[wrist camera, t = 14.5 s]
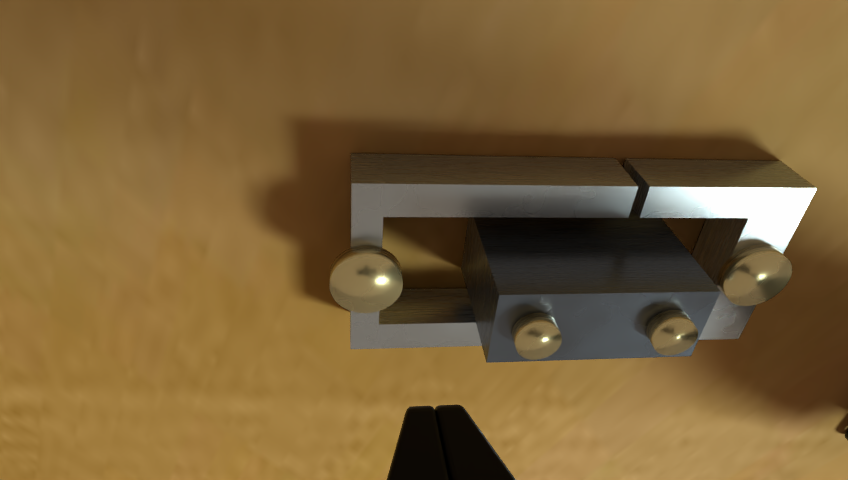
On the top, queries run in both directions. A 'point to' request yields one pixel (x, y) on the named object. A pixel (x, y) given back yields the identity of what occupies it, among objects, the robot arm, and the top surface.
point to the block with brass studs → (583, 288)
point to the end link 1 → (452, 197)
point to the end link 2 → (729, 225)
